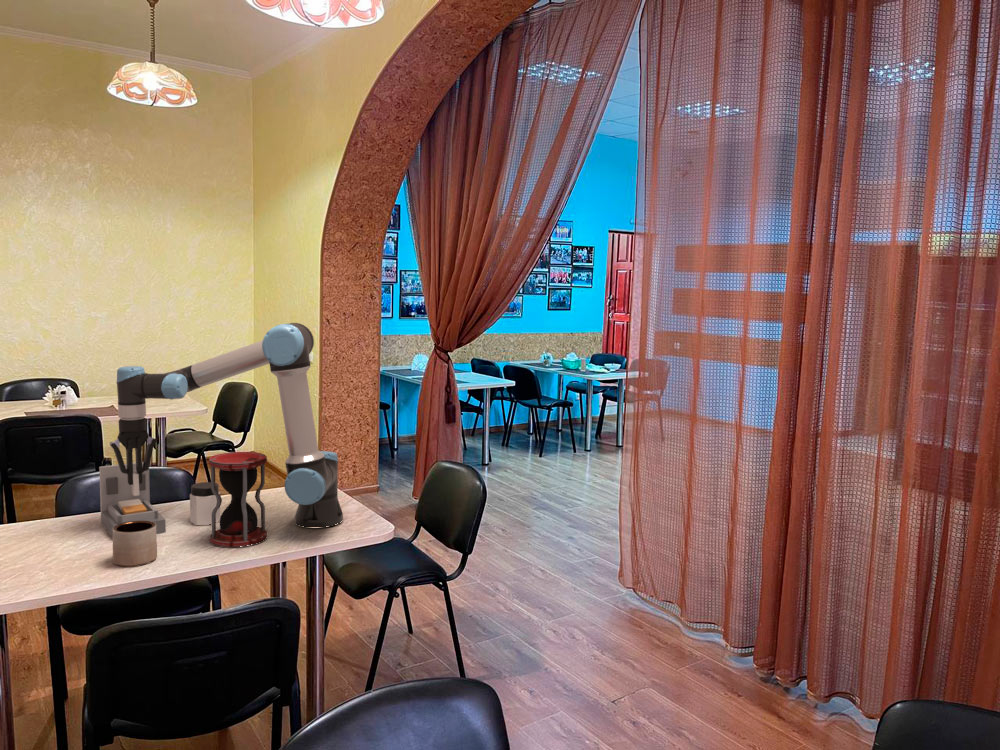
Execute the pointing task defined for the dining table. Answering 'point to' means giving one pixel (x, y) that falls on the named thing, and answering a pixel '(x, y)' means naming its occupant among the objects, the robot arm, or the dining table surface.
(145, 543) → the planter
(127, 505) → the rocker switch
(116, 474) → the grey fixture stand
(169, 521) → the dining table surface
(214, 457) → the hourglass
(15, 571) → the dining table surface
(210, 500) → the jar
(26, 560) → the dining table surface
